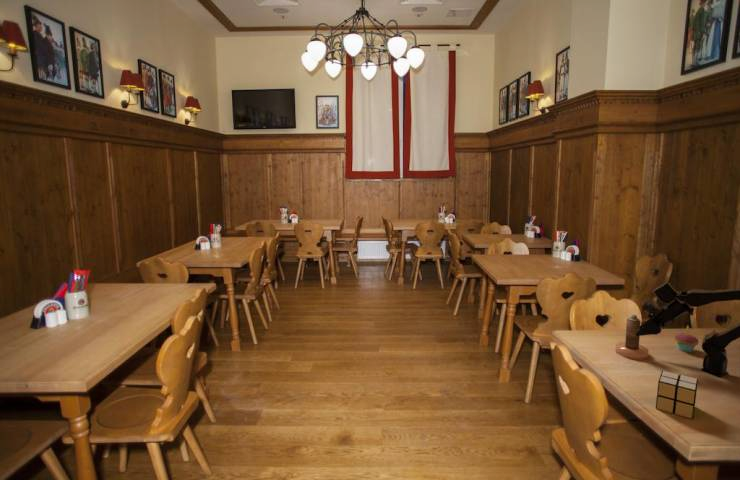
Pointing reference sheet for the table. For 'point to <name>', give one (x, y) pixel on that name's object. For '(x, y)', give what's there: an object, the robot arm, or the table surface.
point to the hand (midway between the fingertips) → (638, 331)
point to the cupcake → (686, 341)
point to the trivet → (631, 351)
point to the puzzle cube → (676, 394)
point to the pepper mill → (632, 333)
